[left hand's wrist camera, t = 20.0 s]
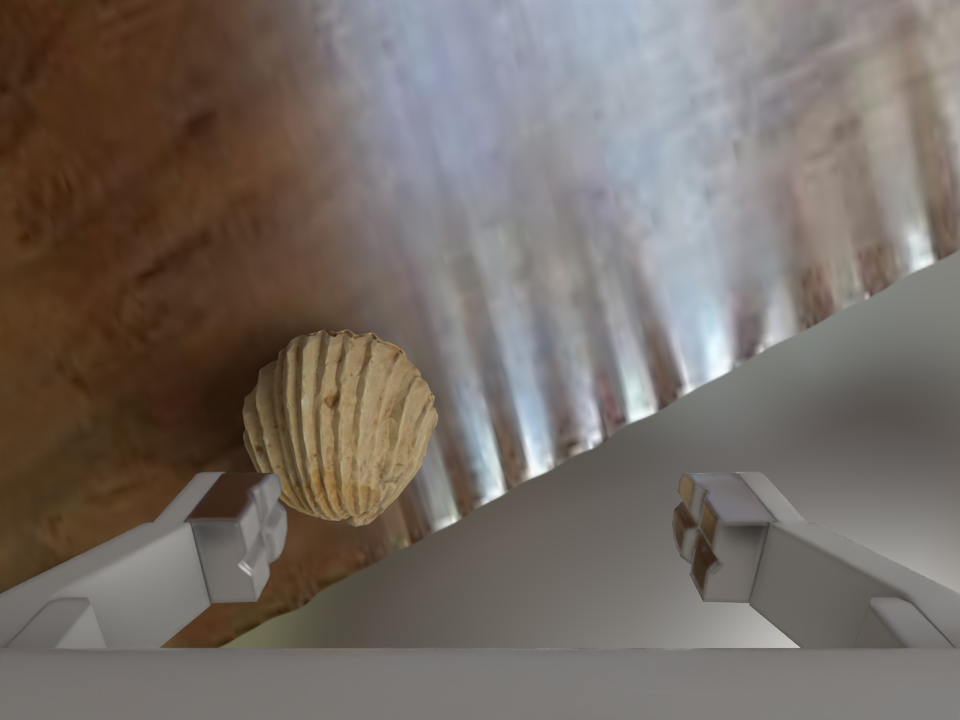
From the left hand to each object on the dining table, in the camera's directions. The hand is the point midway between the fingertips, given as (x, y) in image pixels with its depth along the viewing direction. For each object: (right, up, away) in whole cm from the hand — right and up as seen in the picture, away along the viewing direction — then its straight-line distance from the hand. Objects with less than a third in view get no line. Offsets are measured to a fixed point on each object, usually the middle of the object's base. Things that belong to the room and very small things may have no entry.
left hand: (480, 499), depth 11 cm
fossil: (-11, 0, +38) cm, 40 cm away
